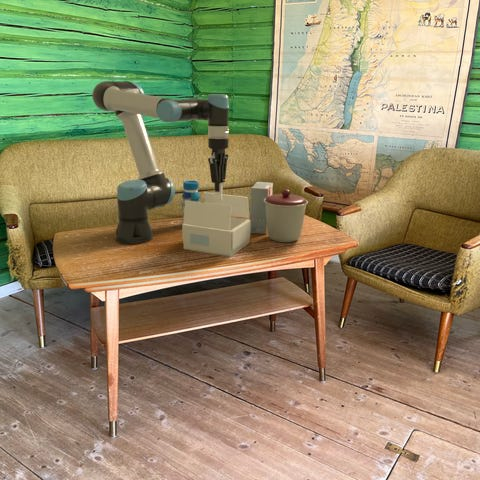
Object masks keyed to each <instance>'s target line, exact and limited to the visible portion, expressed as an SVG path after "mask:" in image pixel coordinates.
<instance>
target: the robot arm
mask: <svg viewBox="0 0 480 480" xmlns="http://www.w3.org/2000/svg"><path fill="white" fill-rule="evenodd" d="M92 101H93V103H94V104H95V106H96V107H97V108H98V109H99V110H101V111H104V112H112V113H113V112H115V116H116V118H117V119H118V120H120V121H121V123H122V125H123V129H124V132H125V135H126V136H125V137H126V139H127V141H128V145H129V147H130V151H131V153H132V157H133V159H134V162H135V166H136V169H137V172H138V175H139V176H138V179H133V180H127V181H123V182H120V183H119V184H118V185H117V187H116V197H117V200H116V201H117V209H118V210H117V213H118V224H117V227H116V230H115V235H114V236H115V241H117V242H118V243H120V244H127V245H128V244H129V245H130V244H131V245H134V244H144V243H147V242H149V241H150V242H151V241H152V240H153V238H154V232H153V230H152V227H151V224H150V222H149V216H148V214H149V213H148V211H150V210H154V209H157V208H163V207H165V206H167V205H169V204H171V202H173V199H174V197H175V194H176V192H175V191H176V190H175V186H174V183H173V181H172V180H170V178H168V177H166V175H165V173H164V171H162V170H160V168H159V165H158V162H157V159H156V156H155V153H154V149H153V147H152V143H151V141H150V137H149V133H148V132H147V128H146V125H145V122H144V119H143V118H144V117H143V116H145V117H151V118H155V119H159V120H161V121H162V122H163V123H175V122H176V123H177V122H186V121H207V125H208V127H207V128H208V129H207V130H208V131H207V136H208V137H209V138H208V148H209V149H211V155H210V156H211V157H208V159H207V161H208V164H209V171H210V172H209V173H210V179H211V183H212V184H214V193H215V200H222V199H223V187H224V186H223V184H224V183H226V179H227V178H226V176H227V166H228V159H229V154H226V149H228V148H229V145H230V144H229V142H230V141H229V138H228V137H229V132H230V129H229V115H230V114H229V109H230V106H229V96H228V95H227V94H223V93H222V94H221V93H219V94H218V93H217V94H216V93H215V94H214V93H210V94H208V95H207V99H201V98H198V99H197V98H186V99H171V98H167V97H162V96H161V97H160V96H155V95H149V94H145V91H144V89H143V88H142V87H141V85H139V84H138V83H136V82H134V81H129V80H124V81H122V80H121V81H115V80H113V81H112V80H111V81H110V80H105V81H104V80H103V81H102V82H99V83H98V84H96V85H95V86H94V88H93V91H92Z"/></svg>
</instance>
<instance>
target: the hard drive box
mask: <svg viewBox="0 0 480 480" xmlns="http://www.w3.org/2000/svg"><path fill="white" fill-rule="evenodd" d="M273 187H274V183H273V182H267V181H257V182H255V183H254V184H253V186H252V187H250V201H249V202H250V204H249V220H251V224H250V234H260V235H261V234H262V235H266V234H268V231H267V221H266V208H265V202H264V199H265V198H267V197H268V196H271V195H273Z"/></svg>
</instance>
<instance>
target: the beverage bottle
mask: <svg viewBox="0 0 480 480" xmlns="http://www.w3.org/2000/svg"><path fill="white" fill-rule="evenodd" d="M182 184H183V185H182V188H183V189H182V190H183V193H182V195H181V199H182V201H181V210H182V213H181V214H182V220H183V219H184V207H185V200H188V201H196V202H201V194H200V192H199V191H198V190H199V187H200V185H199V181H197V180H184V181H183V183H182Z"/></svg>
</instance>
